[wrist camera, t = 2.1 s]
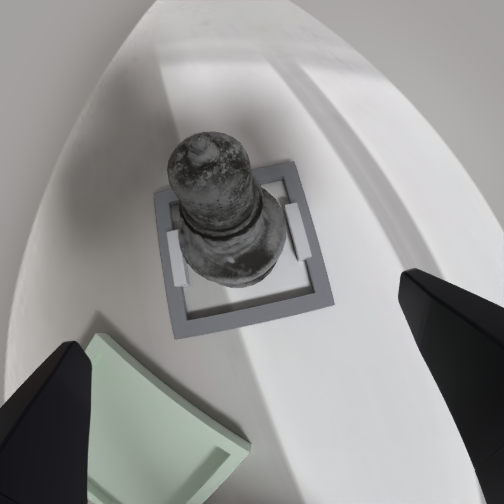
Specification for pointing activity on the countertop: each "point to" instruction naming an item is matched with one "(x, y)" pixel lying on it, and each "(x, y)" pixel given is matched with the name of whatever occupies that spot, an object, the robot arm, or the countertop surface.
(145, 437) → the tray
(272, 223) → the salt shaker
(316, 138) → the countertop surface
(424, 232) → the countertop surface
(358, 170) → the countertop surface
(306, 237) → the socket
